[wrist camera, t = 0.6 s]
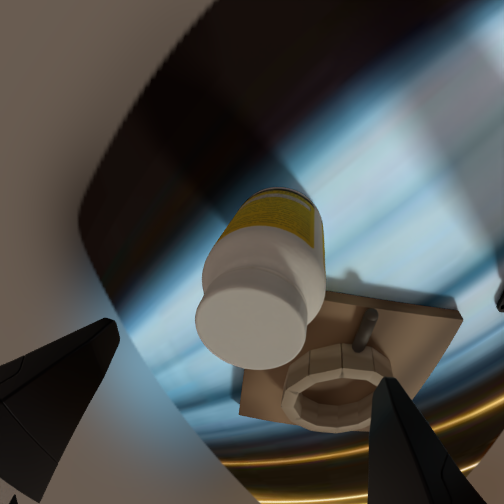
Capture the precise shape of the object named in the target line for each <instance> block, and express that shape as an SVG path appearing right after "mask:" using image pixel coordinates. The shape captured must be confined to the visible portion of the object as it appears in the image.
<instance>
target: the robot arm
mask: <svg viewBox="0 0 504 504" xmlns="http://www.w3.org/2000/svg"><path fill="white" fill-rule="evenodd" d="M496 307H497V309H498V311H499V312H504V291H503V293H502V295H501V297H500V299H499V301H498V303H497V306H496ZM119 342H120V336H119V332H118V328H117V324H116V322H115V321H114V320H112V319H108V318H103V319H101V320H98V321H96V322H94V323H92V324H90V325H88V326H86V327H83V328H81V329H79V330H77V331H75V332H73V333H70V334H68V335H66V336H64V337H62V338H60V339H58V340H56V341H54V342H51V343H49V344H47V345H45V346H43V347H41V348H38V349H36V350H34V351H32V352H30V353H28V354H26V355H25V356H21V357H19V358H17V359H15V360H13V361H10V362H8V363H6V364H3V365H1V366H0V504H18V503H17V499H16V495H15V492H16V490H18V491H20V492H21V493H23V494H24V495H26V496H28V497H29V498H31V499H33V500H34V501H36V502H38V503H40V501H41V499H42V497H43V494H44V492H45V490H46V488H47V486H48V484H49V482H50V480H51V477H52V475H53V473H54V471H55V469H56V467H57V465H58V462H59V461H60V458H61V456H62V455H63V453H64V451H65V448H66V446H67V445H68V443H69V441H70V439H71V437H72V435H73V433H74V431H75V429H76V427H77V425H78V424H79V421H80V420H81V418H82V416H83V414H84V412H85V411H86V409H87V407H88V405H89V403H90V401H91V400H92V398H93V396H94V394H95V392H96V391H97V389H98V387H99V385H100V384H101V382H102V380H103V378H104V376H105V374H106V372H107V370H108V367H109V365H110V363H111V360H112V358H113V356H114V354H115V351H116V349H117V347H118V345H119ZM367 504H487V503H486V502H485V501H484V500H483V498H482V497H481V496H480V495H479V494H478V492H477V491H476V490H475V489H474V487H473V486H472V485H471V484H470V483H469V481H468V480H467V479H466V477H465V476H464V475H463V474H462V472H461V471H460V469H459V468H458V467H457V465H456V464H455V462H454V461H453V459H452V458H451V456H450V455H449V454H448V452H447V450H446V449H445V447H444V446H443V444H442V443H441V441H440V440H439V438H438V437H437V436H436V434H435V433H434V431H433V430H432V428H431V427H430V425H429V424H428V422H427V421H426V420H425V418H424V417H423V415H422V414H421V412H420V411H419V410H418V408H417V407H416V405H415V404H414V402H413V401H412V400H411V398H410V397H409V395H408V394H407V393H406V391H405V390H404V388H403V387H402V386H401V384H400V383H399V381H398V380H397V379H396V378H395V377H386V376H385V377H383V378H382V379H381V381H380V383H379V384H378V386H377V387H376V389H375V391H374V393H373V397H372V409H371V421H370V431H369V482H368V503H367Z"/></svg>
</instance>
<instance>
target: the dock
mask: <svg viewBox="0 0 504 504" xmlns="http://www.w3.org/2000/svg"><path fill="white" fill-rule="evenodd" d="M462 322H463V318H462V316H461V314H460V312H459V311H458V310H451V309H443V308H436V307H429V306H422V305H415V304H408V303H401V302H394V301H388V300H381V299H375V298H368V297H362V296H356V295H349V294H343V293H337V292H331V291H325V297H324V301H323V304H322V306H321V309H320V310H319V312H318V314H317V315H316V316H315V318H314V319H313V320H312V321H311V322H310V323H309V324H308V325H307V330H306V339H305V342H304V345H303V347H302V349H301V351H300V352H299V353H298V355H297V356H296V357H295V358H294V359H292V360H291V361H290V362H288V363H286V364H284V365H282V366H279V367H276V368H272V369H265V370H252V369H244V377H243V385H242V392H241V400H240V408H239V415H242V416H247V417H252V418H257V419H262V420H268V421H273V422H279V423H286V424H293V425H299V426H302V427H304V428H306V429H308V430H312V431H319V432H329V433H341V432H347V431H370V421H371V409H372V397H373V393H374V391H375V389H376V387H377V386H378V384H379V383H380V381H381V379H382V378H383V377H385V376H386V377H395V378H396V379H397V380H398V381H399V383H400V384H401V386H402V387H403V388H404V390H405V391H406V393H407V394H408V395H409V397H410V398H411V400H412V399H413V398H414V397H415V395H416V394H417V393H418V391H419V390H420V388H421V387H422V386H423V384H424V383H425V381H426V380H427V379H428V377H429V376H430V374H431V373H432V371H433V370H434V368H435V367H436V365H437V364H438V362H439V361H440V359H441V357H442V356H443V354H444V353H445V351H446V349H447V348H448V346H449V345H450V343H451V341H452V339H453V338H454V336H455V334H456V333H457V331H458V329H459V327H460V325H461V324H462Z"/></svg>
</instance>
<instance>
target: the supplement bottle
mask: <svg viewBox="0 0 504 504" xmlns="http://www.w3.org/2000/svg"><path fill="white" fill-rule="evenodd" d="M202 286H203V291H204V296H203V298H202V300H201V302H200V303H199V306H198V308H197V311H196V315H195V324H196V329H197V332H198V335H199V337H200V339H201V340H202V342H203V343H204V345H205V346H206V347H207V348H208V349H209V350H210V351H211V352H212V353H213V354H214V355H216V356H217V357H219V358H220V359H222V360H223V361H225V362H227V363H229V364H232V365H234V366H237V367H241V368H245V369H252V370H265V369H272V368H276V367H279V366H282V365H284V364H286V363H288V362H290V361H291V360H292V359H294V358H295V357H296V356H297V355H298V353H299V352H300V351H301V349H302V347H303V345H304V342H305V339H306V330H307V325H308V324H309V323H310V322H311V321H312V320H313V319H314V318H315V316H316V315H317V314H318V312H319V310H320V309H321V306H322V304H323V301H324V297H325V291H326V271H325V250H324V230H323V223H322V219H321V216H320V213H319V211H318V209H317V208H316V206H315V205H314V204H313V202H312V201H311V200H310V199H309V198H307V197H306V196H305V195H303V194H302V193H300V192H298V191H296V190H293V189H290V188H285V187H272V188H267V189H264V190H261V191H259V192H257V193H255V194H254V195H252V196H251V197H250V198H249V199H248V200H247V201H246V202H245V203H244V204H243V205H242V206H241V208H240V209H239V210H238V212H237V213H236V215H235V216H234V218H233V219H232V220H231V222H230V223H229V225H228V226H227V228H226V229H225V230H224V232H223V233H222V235H221V236H220V238H219V239H218V241H217V242H216V244H215V245H214V247H213V248H212V250H211V251H210V253H209V255H208V257H207V259H206V261H205V264H204V268H203V273H202Z"/></svg>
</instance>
